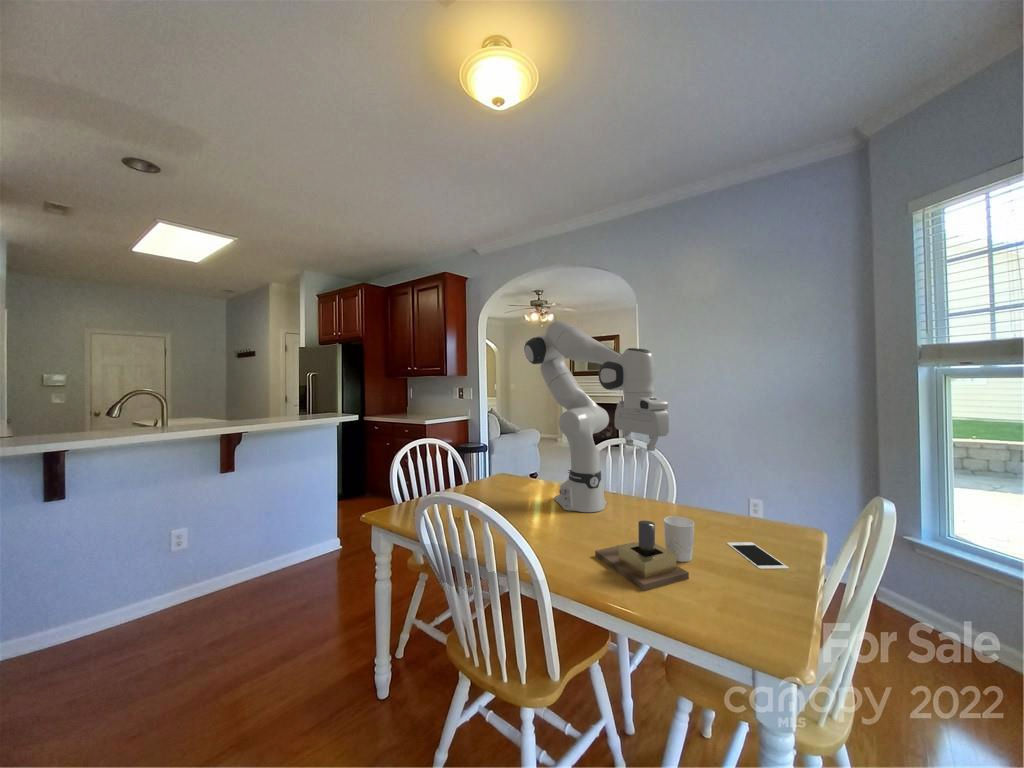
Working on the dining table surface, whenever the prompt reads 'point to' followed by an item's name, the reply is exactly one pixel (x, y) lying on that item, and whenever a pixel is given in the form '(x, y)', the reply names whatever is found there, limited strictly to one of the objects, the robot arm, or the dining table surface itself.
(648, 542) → the steel pin
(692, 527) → the white cup
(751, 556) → the cell phone
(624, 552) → the square brass washer
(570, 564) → the dining table surface
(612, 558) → the walnut board
